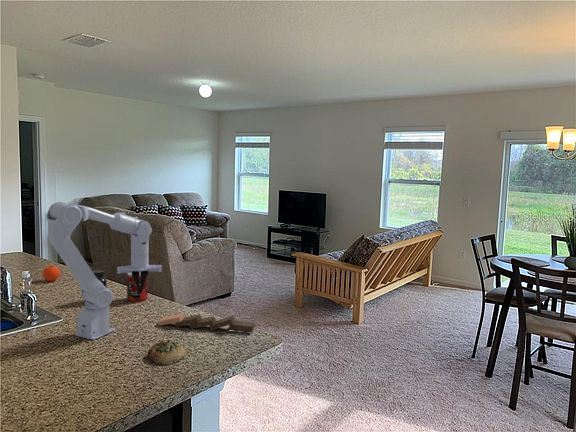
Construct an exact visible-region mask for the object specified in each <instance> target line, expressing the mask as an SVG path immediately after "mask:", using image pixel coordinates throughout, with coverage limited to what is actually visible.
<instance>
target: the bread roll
mask: <svg viewBox="0 0 576 432" xmlns="http://www.w3.org/2000/svg"><path fill="white" fill-rule="evenodd" d="M187 352H188V351H187V350H186V348H185V347H183V346H181V345H180V344H178V343H177V342H175V341H172V340H171V339H169V340H167V341H164V340H163V339H162V340H160V341H158V342H156V343H155V344H154V345H153V346H152V347H150V348H149V349H148V351H147V354H146V355H147V358H148V360H149V359H150V360H151V362H152V361H153V362H154V363H155V362H156V364H157V363H171V362H175V361H177V362H179V361H181V360H182V359H183V358H184V357H185V355H186V354H187ZM182 357H183V358H182ZM181 358H182V359H181ZM180 359H181V360H180ZM150 360H149V361H150ZM178 360H179V361H178ZM175 363H176V362H175Z"/></svg>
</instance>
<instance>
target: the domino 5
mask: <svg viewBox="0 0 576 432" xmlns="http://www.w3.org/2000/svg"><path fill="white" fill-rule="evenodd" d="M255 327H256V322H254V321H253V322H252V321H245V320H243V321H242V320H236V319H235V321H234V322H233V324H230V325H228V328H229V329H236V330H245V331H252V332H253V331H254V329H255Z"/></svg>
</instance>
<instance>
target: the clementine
mask: <svg viewBox="0 0 576 432" xmlns="http://www.w3.org/2000/svg"><path fill="white" fill-rule="evenodd" d="M42 271H43V272H42V277H43V279H44V280H46V281H48V282H53V281H56V280H58V279H59V278H60V276H61V275H60V274H61V270H60V269H59V268H58V267H57V266H56V265H47V266H46V267H45V268H44V269H43V270H42Z"/></svg>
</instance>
